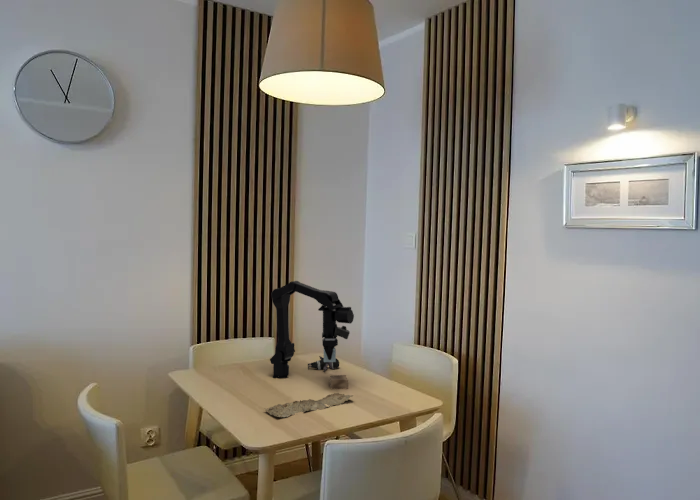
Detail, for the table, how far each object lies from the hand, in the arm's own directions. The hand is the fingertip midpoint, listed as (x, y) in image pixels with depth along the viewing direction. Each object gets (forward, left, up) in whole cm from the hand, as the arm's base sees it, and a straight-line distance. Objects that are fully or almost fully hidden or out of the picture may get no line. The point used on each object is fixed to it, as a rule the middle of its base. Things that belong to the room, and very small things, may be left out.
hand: (329, 358), depth 222 cm
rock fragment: (-8, -26, -12) cm, 30 cm away
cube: (0, 0, -1) cm, 1 cm away
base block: (+4, -1, -12) cm, 13 cm away
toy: (-2, +26, -12) cm, 29 cm away
